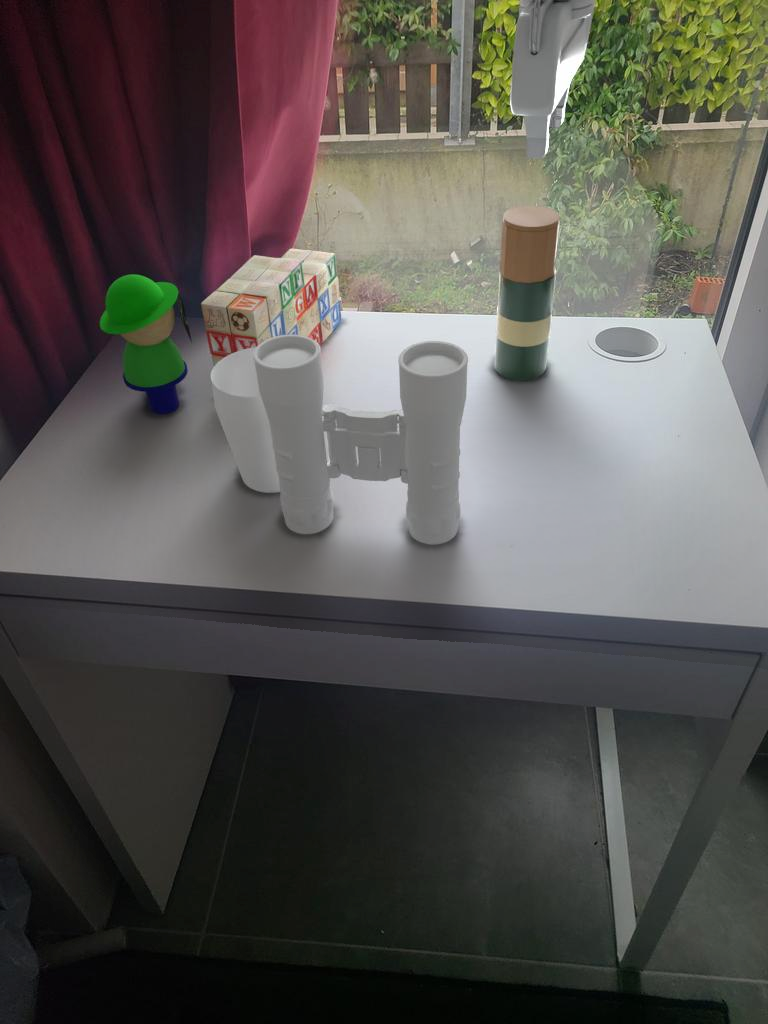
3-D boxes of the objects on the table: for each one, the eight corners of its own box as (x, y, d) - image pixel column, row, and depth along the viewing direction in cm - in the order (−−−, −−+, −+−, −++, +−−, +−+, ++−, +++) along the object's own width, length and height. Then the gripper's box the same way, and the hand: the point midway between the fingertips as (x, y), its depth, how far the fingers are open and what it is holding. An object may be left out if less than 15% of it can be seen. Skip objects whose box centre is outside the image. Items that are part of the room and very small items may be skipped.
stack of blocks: (299, 315, 108) (288, 223, 99) (342, 321, 106) (335, 228, 98) (219, 401, 93) (199, 301, 85) (268, 410, 91) (252, 309, 83)
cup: (299, 437, 87) (286, 336, 79) (333, 484, 81) (322, 380, 73) (218, 462, 84) (196, 361, 76) (247, 513, 78) (226, 408, 70)
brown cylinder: (557, 262, 89) (563, 207, 85) (549, 285, 85) (554, 229, 81) (506, 257, 90) (509, 203, 86) (495, 279, 86) (498, 224, 82)
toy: (208, 411, 91) (181, 286, 81) (130, 430, 89) (92, 304, 79) (192, 373, 98) (165, 252, 88) (119, 389, 95) (83, 268, 85)
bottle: (550, 357, 97) (565, 216, 86) (541, 384, 93) (556, 239, 81) (499, 351, 99) (508, 211, 87) (488, 377, 94) (496, 234, 83)
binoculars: (465, 511, 77) (470, 342, 65) (459, 551, 73) (465, 378, 61) (288, 497, 79) (263, 332, 67) (274, 535, 75) (244, 367, 63)
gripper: (578, -10, 61) (561, 179, 70) (610, -50, 75) (592, 111, 84) (495, -10, 63) (489, 174, 72) (542, -49, 77) (531, 109, 86)
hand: (545, 140), depth 78 cm, fingers open, 8 cm apart
